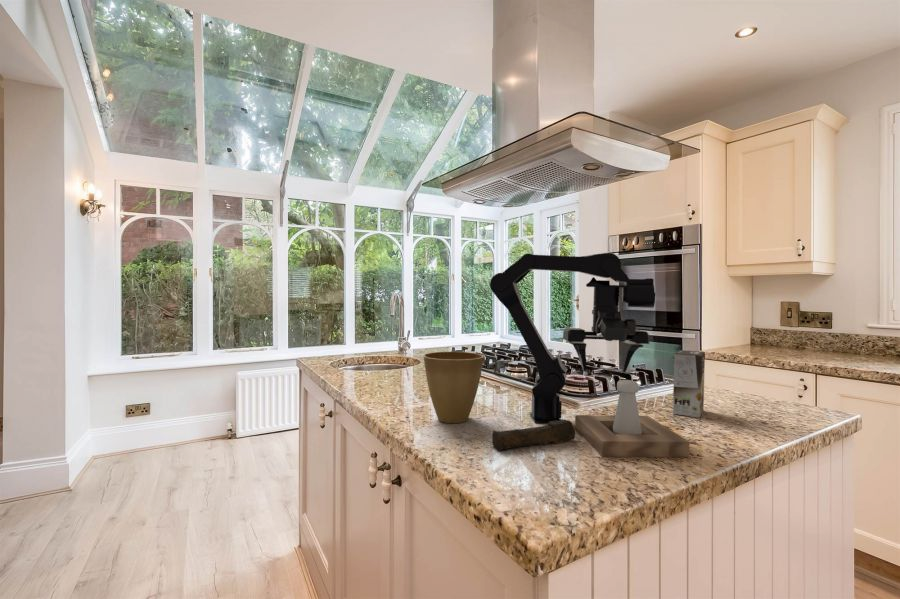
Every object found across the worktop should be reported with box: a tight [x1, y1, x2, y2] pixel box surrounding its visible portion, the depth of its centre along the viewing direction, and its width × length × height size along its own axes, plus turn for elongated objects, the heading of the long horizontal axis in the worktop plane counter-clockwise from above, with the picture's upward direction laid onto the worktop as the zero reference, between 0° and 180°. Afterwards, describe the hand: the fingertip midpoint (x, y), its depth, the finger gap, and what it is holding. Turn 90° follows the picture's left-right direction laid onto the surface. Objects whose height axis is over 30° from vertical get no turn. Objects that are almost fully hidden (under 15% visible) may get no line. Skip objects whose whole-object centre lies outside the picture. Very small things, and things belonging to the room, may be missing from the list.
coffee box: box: [672, 349, 706, 419], centre depth 112 cm, size 9×6×16 cm
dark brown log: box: [491, 419, 576, 452], centre depth 88 cm, size 19×4×5 cm, turn 107°
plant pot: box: [423, 351, 485, 424], centre depth 105 cm, size 15×15×16 cm
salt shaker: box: [613, 379, 642, 435], centre depth 90 cm, size 6×6×13 cm
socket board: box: [574, 414, 691, 458], centre depth 90 cm, size 17×17×3 cm
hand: (603, 371), depth 101 cm, fingers open, 9 cm apart
